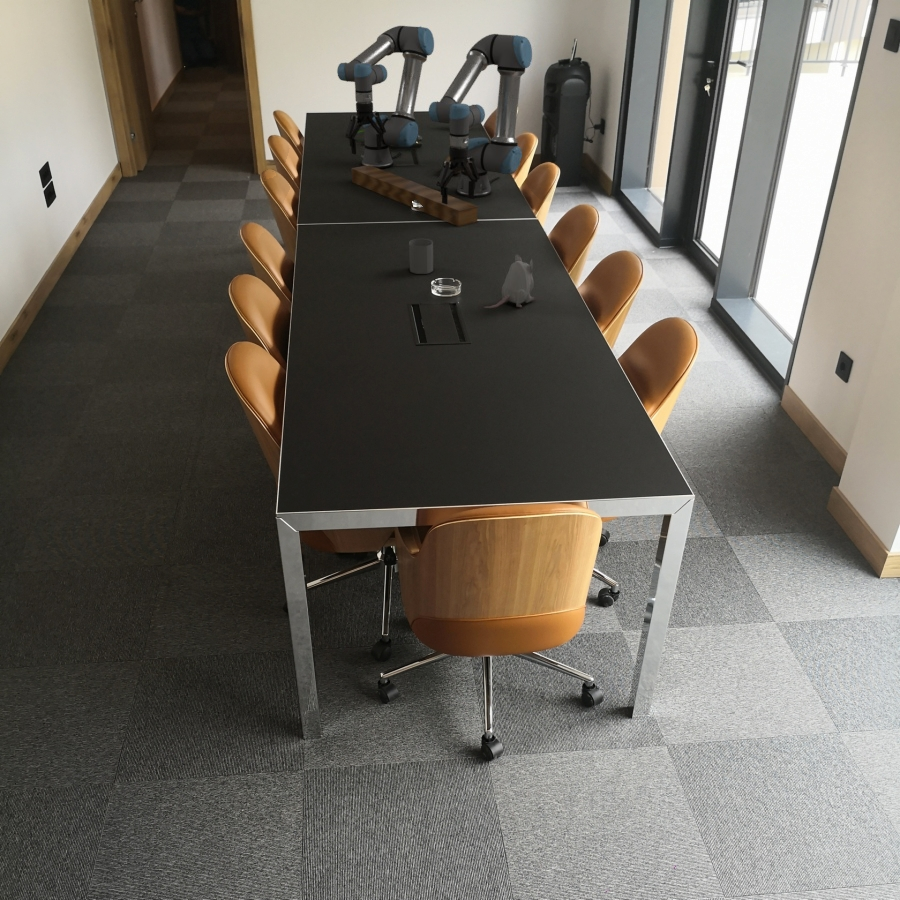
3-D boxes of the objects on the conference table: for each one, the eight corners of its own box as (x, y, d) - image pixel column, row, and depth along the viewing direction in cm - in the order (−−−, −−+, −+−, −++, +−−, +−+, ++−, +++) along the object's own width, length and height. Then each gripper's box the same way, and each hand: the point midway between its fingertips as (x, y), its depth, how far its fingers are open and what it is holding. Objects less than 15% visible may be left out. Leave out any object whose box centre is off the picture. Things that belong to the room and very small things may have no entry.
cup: (409, 265, 311) (408, 238, 306) (432, 265, 312) (431, 238, 307) (410, 274, 304) (409, 246, 299) (433, 273, 305) (433, 246, 299)
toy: (541, 300, 285) (543, 256, 277) (494, 322, 270) (495, 276, 262) (519, 293, 290) (521, 249, 282) (472, 313, 276) (473, 269, 268)
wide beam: (352, 182, 402) (351, 168, 399) (369, 178, 407) (369, 164, 404) (458, 226, 349) (458, 210, 345) (477, 221, 354) (477, 206, 350)
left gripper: (344, 107, 372) (347, 157, 384) (392, 100, 385) (394, 149, 397) (335, 104, 377) (338, 154, 389) (383, 97, 390) (384, 145, 402)
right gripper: (439, 152, 331) (439, 207, 342) (489, 144, 344) (487, 197, 355) (427, 148, 336) (427, 203, 347) (477, 140, 349) (476, 193, 360)
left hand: (366, 151), depth 393 cm, fingers open, 13 cm apart
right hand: (458, 200), depth 351 cm, fingers open, 13 cm apart
